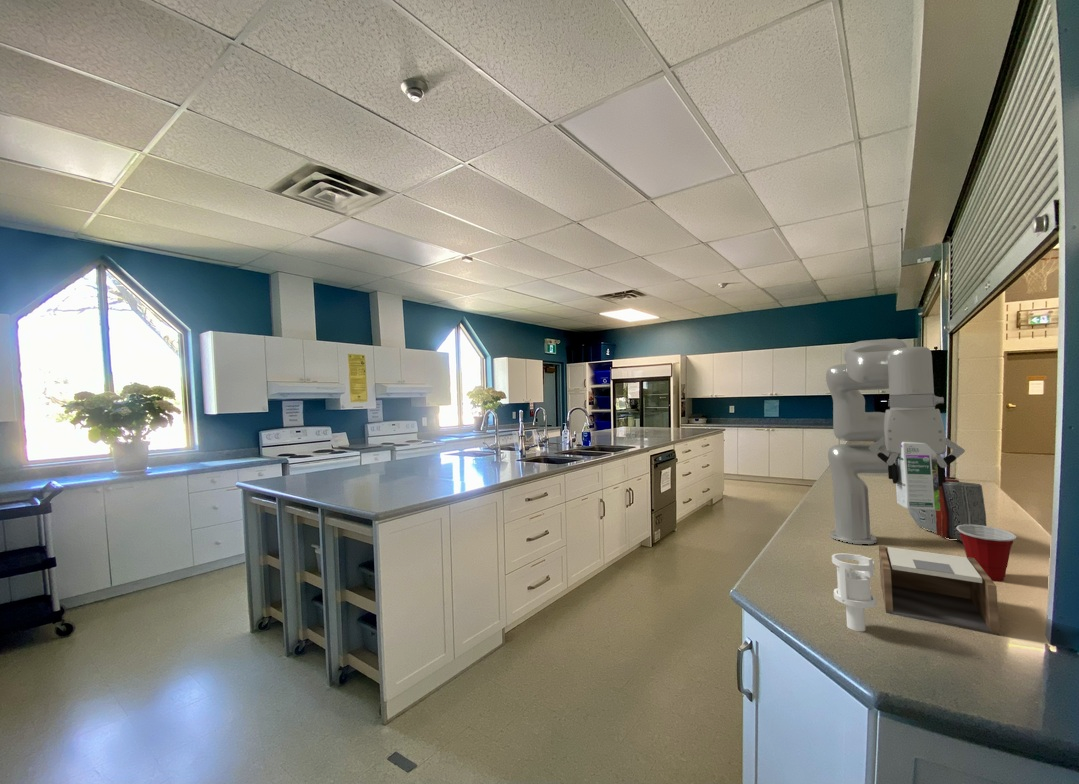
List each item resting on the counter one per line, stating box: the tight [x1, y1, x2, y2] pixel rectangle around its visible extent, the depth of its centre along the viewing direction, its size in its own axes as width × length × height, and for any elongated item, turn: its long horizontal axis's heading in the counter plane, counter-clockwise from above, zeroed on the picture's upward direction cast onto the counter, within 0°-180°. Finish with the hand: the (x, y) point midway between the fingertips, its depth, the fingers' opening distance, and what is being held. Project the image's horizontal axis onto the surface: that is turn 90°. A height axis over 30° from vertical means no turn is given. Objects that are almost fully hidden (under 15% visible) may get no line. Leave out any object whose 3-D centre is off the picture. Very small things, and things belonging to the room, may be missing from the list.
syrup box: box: [895, 442, 940, 511], centre depth 94 cm, size 6×6×14 cm
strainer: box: [831, 552, 878, 633], centre depth 88 cm, size 7×7×15 cm
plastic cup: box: [956, 525, 1017, 582], centre depth 110 cm, size 11×11×12 cm
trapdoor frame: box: [878, 545, 1000, 636], centre depth 96 cm, size 18×17×10 cm
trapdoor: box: [886, 546, 982, 583], centre depth 96 cm, size 14×14×1 cm
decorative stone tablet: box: [907, 478, 988, 542], centre depth 144 cm, size 19×6×30 cm
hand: (916, 483), depth 94 cm, fingers closed on syrup box, 6 cm apart
